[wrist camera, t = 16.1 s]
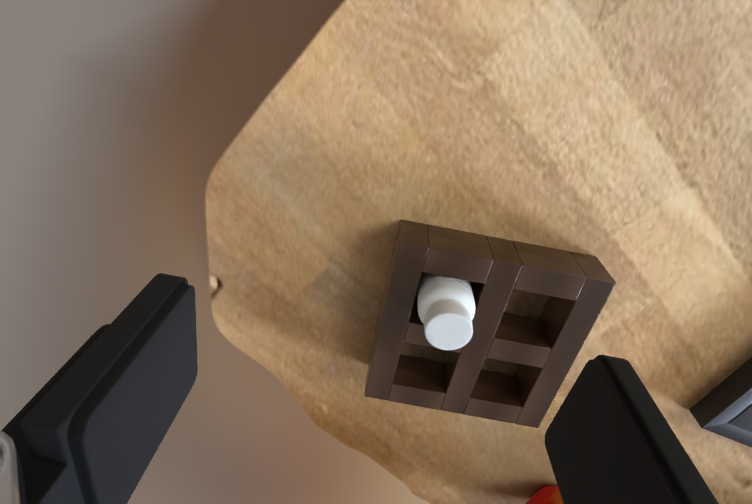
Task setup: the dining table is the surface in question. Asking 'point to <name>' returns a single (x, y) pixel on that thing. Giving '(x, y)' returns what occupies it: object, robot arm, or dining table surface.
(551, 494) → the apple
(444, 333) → the pill bottle
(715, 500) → the robot arm
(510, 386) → the grid rack
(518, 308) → the dining table surface
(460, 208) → the dining table surface
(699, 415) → the picture frame
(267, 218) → the dining table surface
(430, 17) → the dining table surface
